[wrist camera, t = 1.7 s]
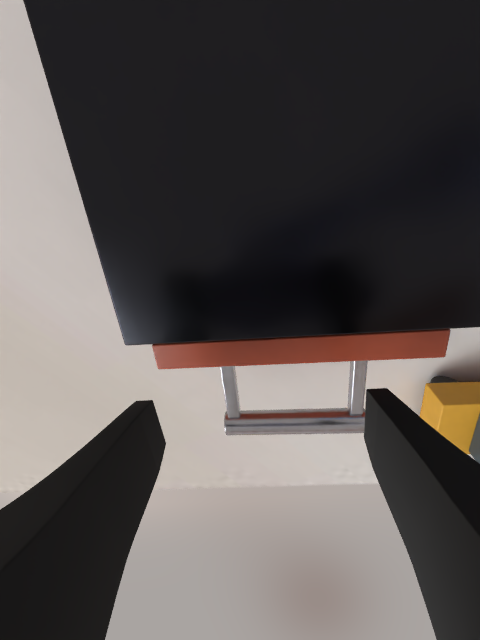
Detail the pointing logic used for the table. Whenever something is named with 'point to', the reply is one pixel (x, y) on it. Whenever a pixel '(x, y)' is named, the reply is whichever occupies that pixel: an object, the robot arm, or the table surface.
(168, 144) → the drawer cabinet
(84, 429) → the table surface
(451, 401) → the yellow and grey block
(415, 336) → the cabinet drawer
